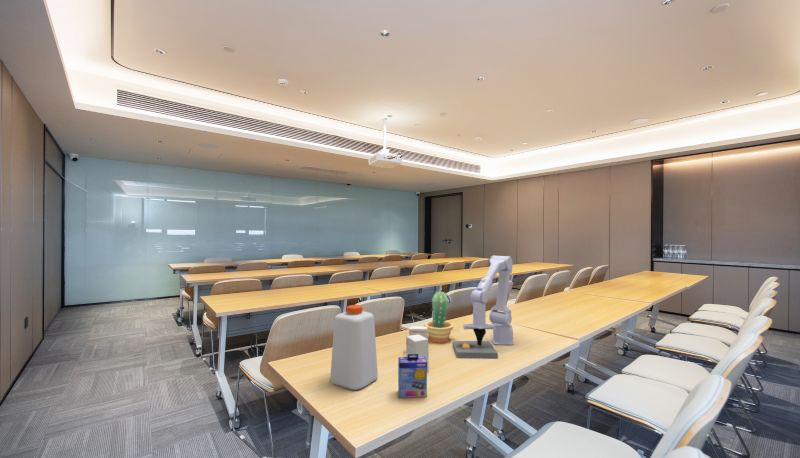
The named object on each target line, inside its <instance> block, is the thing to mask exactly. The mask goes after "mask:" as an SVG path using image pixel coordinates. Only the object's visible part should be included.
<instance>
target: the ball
mask: <svg viewBox="0 0 800 458" xmlns="http://www.w3.org/2000/svg"><path fill="white" fill-rule="evenodd" d="M462 348H470V345H469V344H467V343H464V344H463V345H462Z"/></svg>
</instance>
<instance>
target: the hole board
mask: <svg viewBox="0 0 800 458" xmlns="http://www.w3.org/2000/svg"><path fill="white" fill-rule="evenodd" d="M464 343H467V344H469V345H470V348H462V345H463V344H464ZM452 348H453V351H454V353H455V357H456V359H498V357H499V354H498V353H499V352H498V351H497V349H496V348H495V347H494V345H493V344H492V343H491V341H489V340H482V344H481V345H478V344H477V340H452Z"/></svg>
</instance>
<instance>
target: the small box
mask: <svg viewBox="0 0 800 458" xmlns="http://www.w3.org/2000/svg"><path fill="white" fill-rule="evenodd" d="M405 338H406V339H405V340H406V341H405V344H406V347H405V351H406V352H405V354H406V355H405V357H408V354H418V356H425V358H426V360H427V373H428V372H429V338H428V339H427V338H425V337H423V336H421V335H419V334H417V335H410V336H409V335H406V337H405ZM409 357H416V356H414V355H413V356H409Z"/></svg>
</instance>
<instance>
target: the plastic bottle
mask: <svg viewBox="0 0 800 458" xmlns="http://www.w3.org/2000/svg"><path fill="white" fill-rule="evenodd" d="M375 327H376V326H375V316H374V314H373V313H372V312H369V311H364V310H363V306H362V305H360V304H351V305H347V306H346V310H345V311H344V312H341V313H338V314H336V315H335V317H334V321H333V334H332V348H331V349H332V350H331V362H330V363H331V364H330V377H329V378H330V382H331V383H332V385H336V386H337V387H342V388H345V389H348V390H353V391H355V390H357V391H358V390H361V389H364V388H365V387H367V386H368V385H370V384H371V383H372V382H373V383H374V381H376V380H377V379H378V375H379V373H378V372H379V371H378V358H377V344H376V343H377V342H376V329H375Z"/></svg>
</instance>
